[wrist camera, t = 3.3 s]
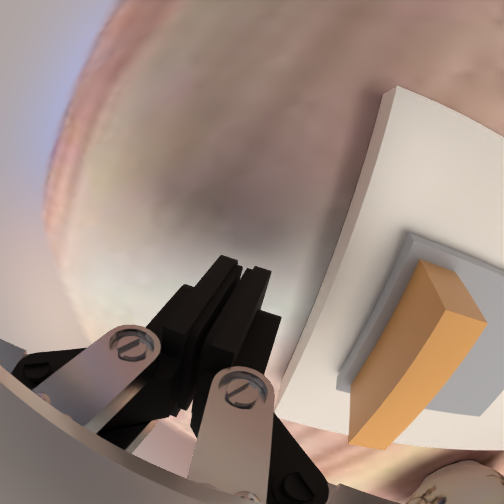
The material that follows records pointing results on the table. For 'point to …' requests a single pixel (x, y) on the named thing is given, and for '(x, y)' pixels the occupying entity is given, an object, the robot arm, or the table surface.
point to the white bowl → (461, 485)
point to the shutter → (426, 344)
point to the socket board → (387, 252)
